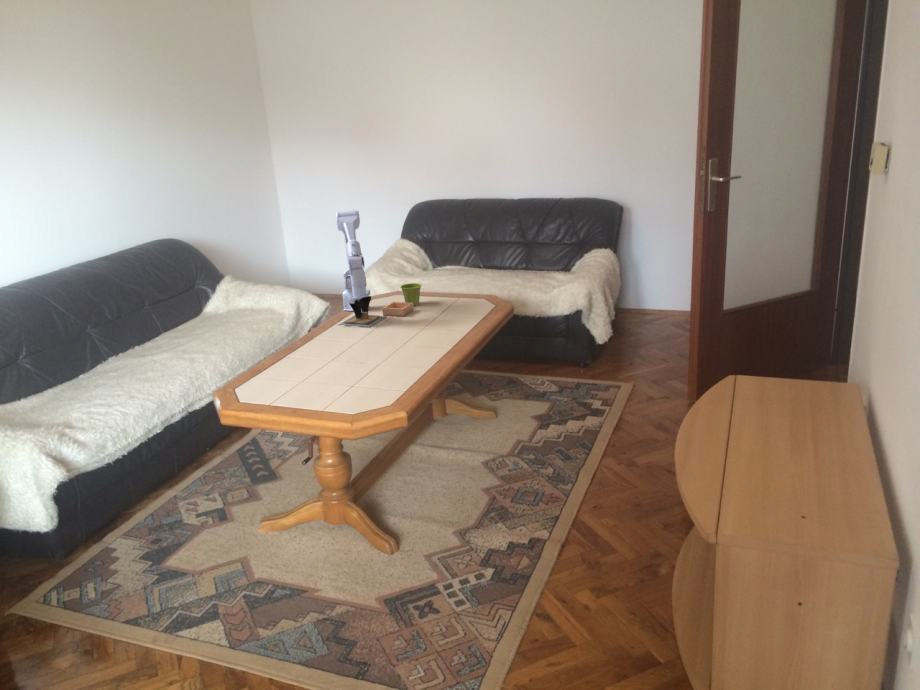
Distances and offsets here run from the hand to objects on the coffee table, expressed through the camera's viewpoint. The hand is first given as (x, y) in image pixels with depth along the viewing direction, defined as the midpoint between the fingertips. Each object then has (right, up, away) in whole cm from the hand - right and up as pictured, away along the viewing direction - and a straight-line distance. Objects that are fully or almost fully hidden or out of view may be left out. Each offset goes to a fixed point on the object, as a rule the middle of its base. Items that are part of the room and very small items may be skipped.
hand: (362, 315), depth 317 cm
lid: (0, -2, +1) cm, 2 cm away
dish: (+15, +1, +9) cm, 17 cm away
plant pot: (+20, +6, +21) cm, 30 cm away
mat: (0, -2, +1) cm, 3 cm away
